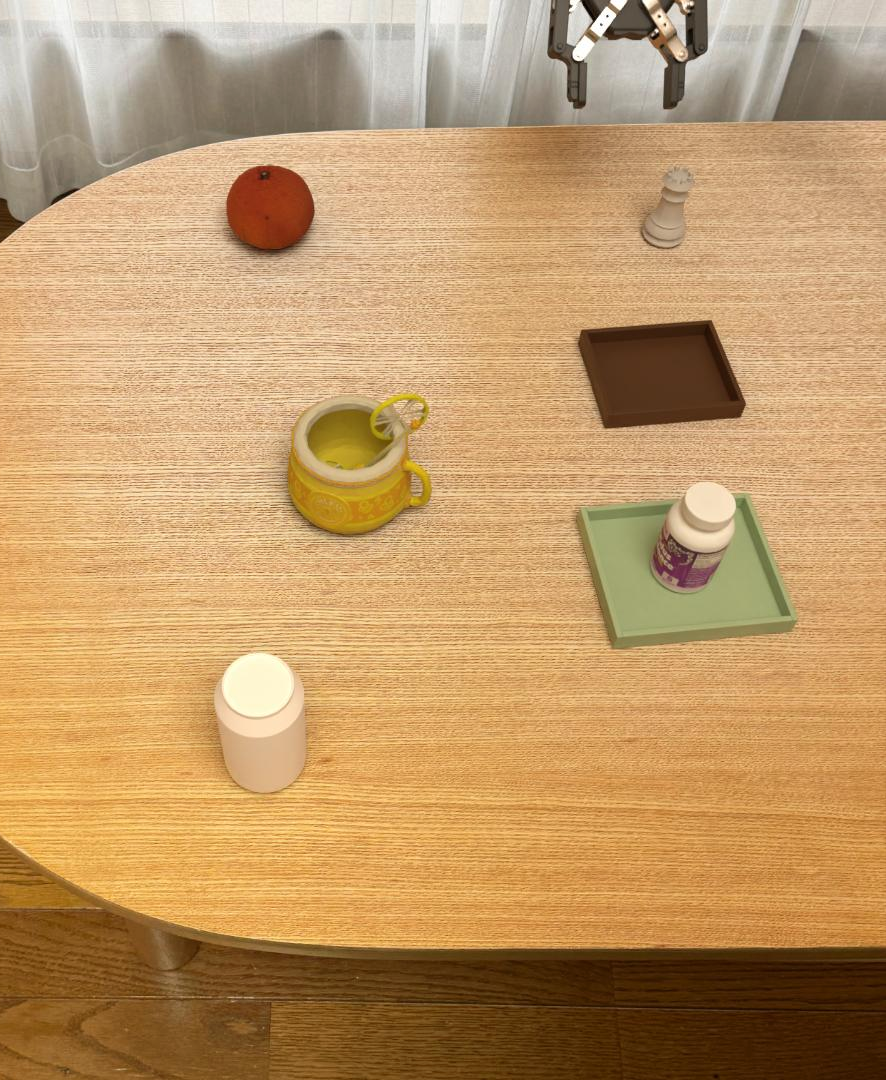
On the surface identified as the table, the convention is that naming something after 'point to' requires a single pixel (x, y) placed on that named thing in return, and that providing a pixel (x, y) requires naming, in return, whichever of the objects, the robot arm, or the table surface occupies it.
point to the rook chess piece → (670, 210)
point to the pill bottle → (694, 538)
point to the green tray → (670, 617)
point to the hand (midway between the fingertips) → (625, 108)
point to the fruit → (270, 207)
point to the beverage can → (261, 722)
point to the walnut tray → (660, 374)
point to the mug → (354, 462)
